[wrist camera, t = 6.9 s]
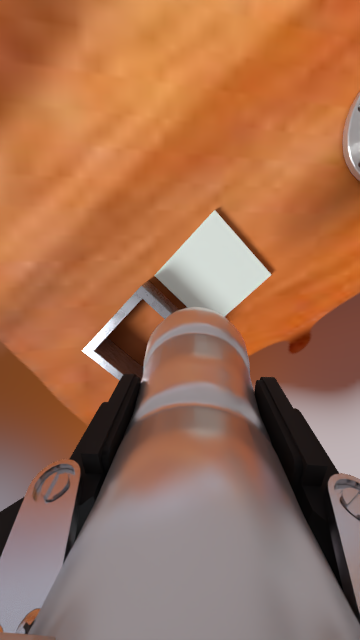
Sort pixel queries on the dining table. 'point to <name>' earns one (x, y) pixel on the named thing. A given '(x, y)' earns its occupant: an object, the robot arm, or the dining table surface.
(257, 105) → the dining table surface
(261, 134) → the dining table surface
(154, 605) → the plastic bottle
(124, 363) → the steel collar
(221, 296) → the mat
